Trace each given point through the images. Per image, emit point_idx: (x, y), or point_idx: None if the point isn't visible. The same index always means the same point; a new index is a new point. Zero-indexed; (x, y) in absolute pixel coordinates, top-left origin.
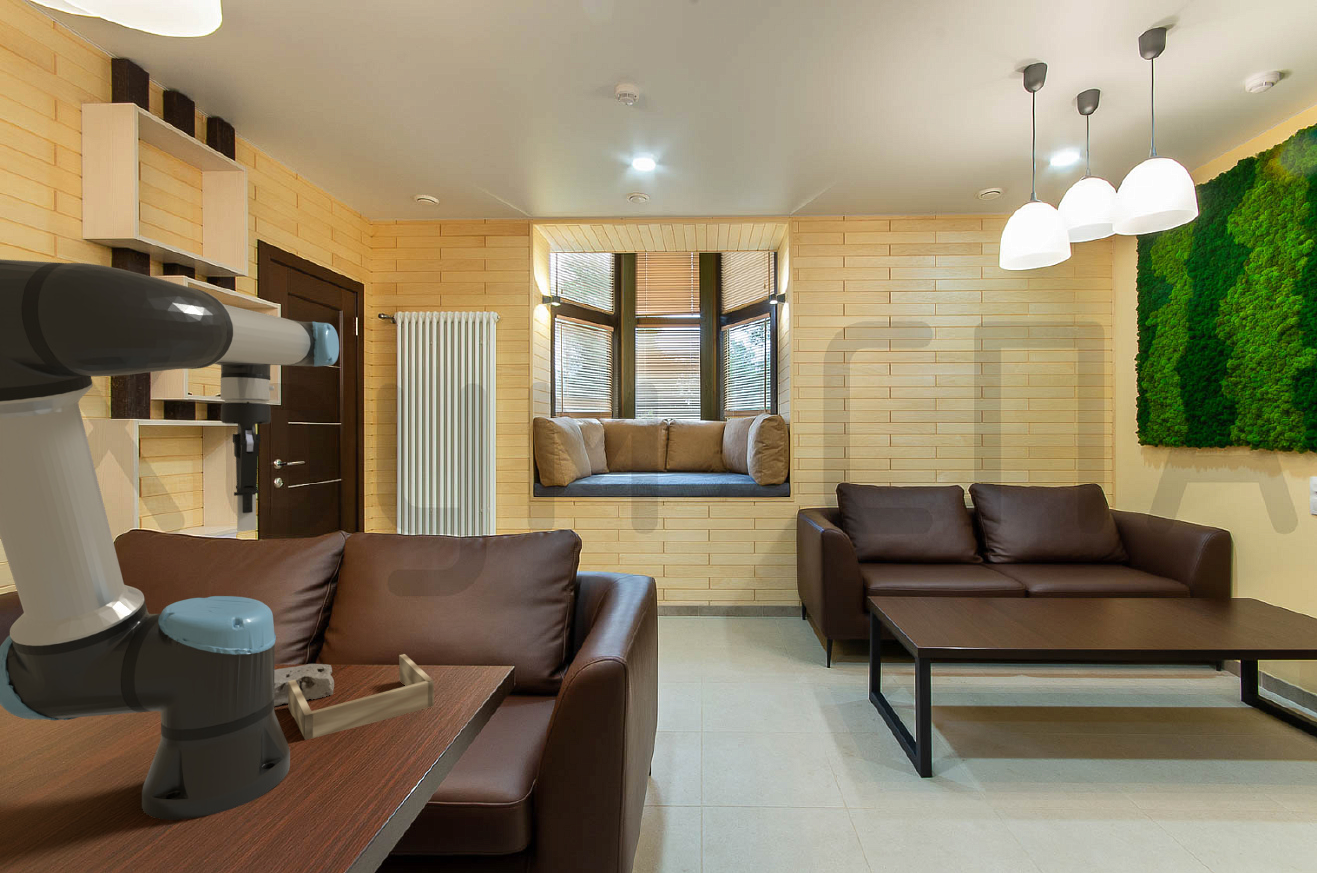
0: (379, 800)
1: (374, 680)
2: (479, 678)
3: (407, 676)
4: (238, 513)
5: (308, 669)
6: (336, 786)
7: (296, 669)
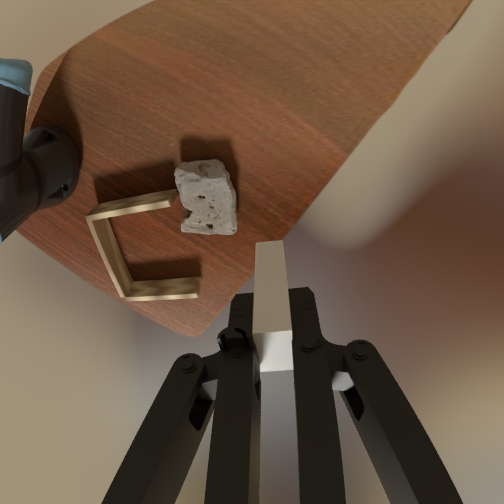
0: (41, 240)
1: (216, 259)
2: (179, 321)
3: (174, 286)
4: (254, 280)
5: (209, 216)
6: (54, 222)
7: (217, 205)
